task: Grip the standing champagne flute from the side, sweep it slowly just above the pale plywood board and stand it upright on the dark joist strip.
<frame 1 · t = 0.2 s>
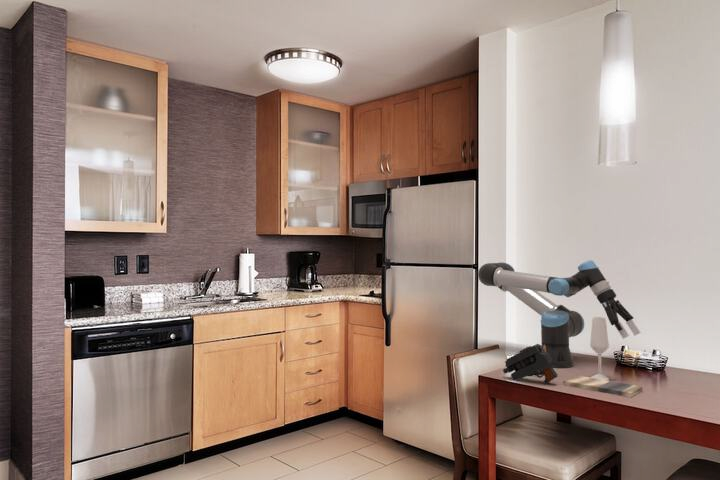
hand: (632, 335, 220), 14 cm above the table, tool tilted 35°, fingers open, 13 cm apart
champagne flute: (600, 378, 205), on the table
ammunition clip: (536, 375, 212), on the table
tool: (529, 381, 202), on the table
subfloor board: (601, 387, 191), on the table
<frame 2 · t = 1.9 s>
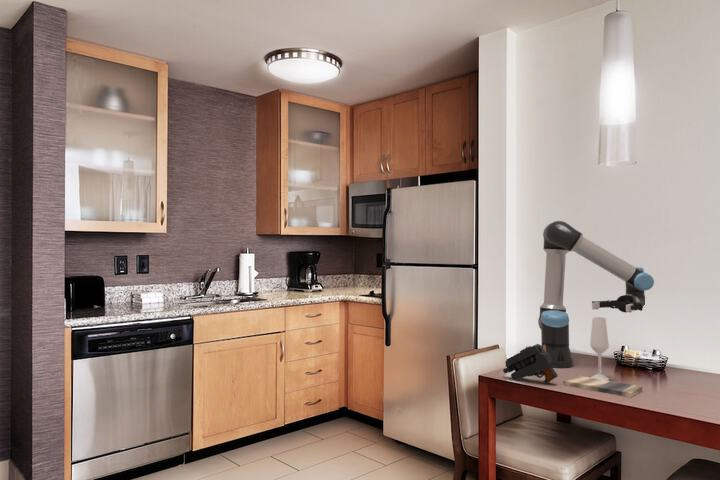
hand: (609, 307, 213), 27 cm above the table, tool horizontal, fingers open, 13 cm apart
nothing on the table moved.
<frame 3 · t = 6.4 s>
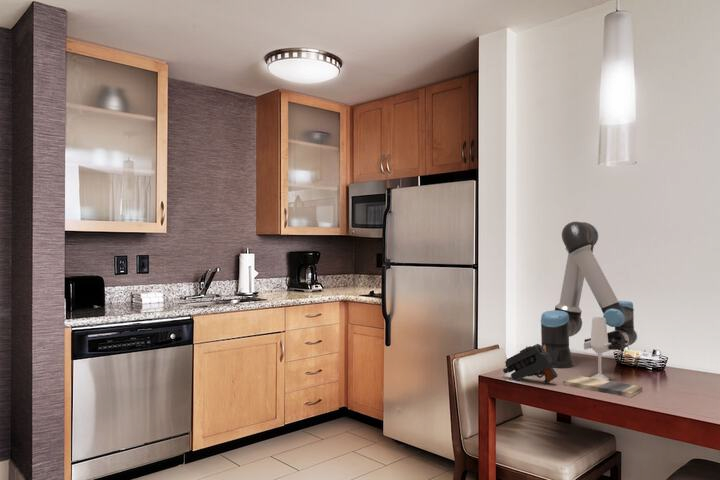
hand: (594, 347, 202), 13 cm above the table, tool horizontal, fingers closed on champagne flute, 7 cm apart
champagne flute: (600, 378, 205), on the table, touching gripper
everything else where it was.
when the fingers open (16 cm above the table, at t = 13.5 s): champagne flute drops 1 cm, resting on subfloor board.
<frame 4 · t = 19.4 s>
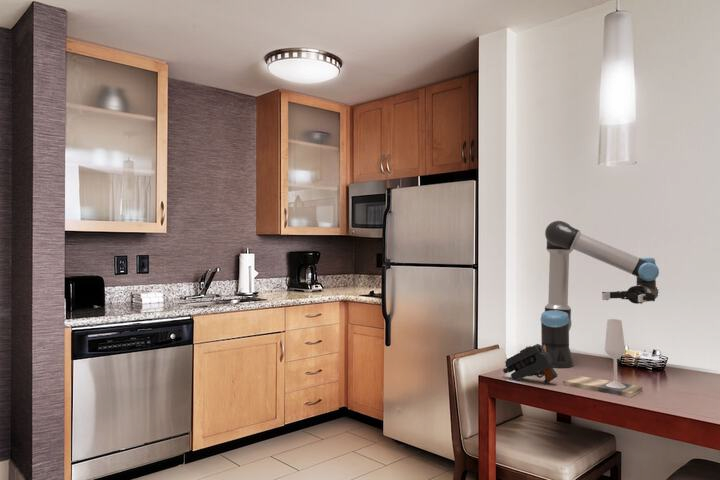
hand: (620, 297, 206), 32 cm above the table, tool horizontal, fingers open, 13 cm apart
champagne flute: (615, 386, 188), point 1 cm above the table, touching subfloor board
everything else where it was.
at the end: champagne flute inside the target area (0.1 cm from its centre), point 1.3 cm above the table; champagne flute tilted 0°; the gripper is holding nothing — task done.
